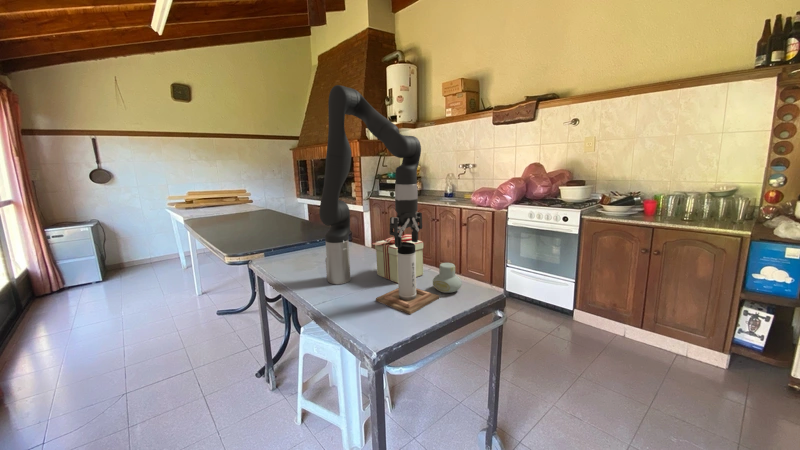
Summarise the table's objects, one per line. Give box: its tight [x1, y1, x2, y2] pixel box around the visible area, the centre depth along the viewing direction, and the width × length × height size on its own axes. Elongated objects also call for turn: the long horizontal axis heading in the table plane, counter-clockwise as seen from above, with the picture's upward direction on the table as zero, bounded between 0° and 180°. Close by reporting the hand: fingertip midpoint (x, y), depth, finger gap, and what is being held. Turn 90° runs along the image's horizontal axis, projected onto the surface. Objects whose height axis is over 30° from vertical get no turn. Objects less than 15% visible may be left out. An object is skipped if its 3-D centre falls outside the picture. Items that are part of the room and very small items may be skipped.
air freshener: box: [432, 262, 463, 294], centre depth 122 cm, size 11×8×10 cm
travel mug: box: [397, 242, 417, 300], centre depth 113 cm, size 6×7×20 cm
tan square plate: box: [375, 287, 440, 315], centre depth 115 cm, size 16×16×2 cm
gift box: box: [371, 233, 424, 284], centre depth 138 cm, size 17×18×17 cm
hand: (406, 244), depth 111 cm, fingers open, 8 cm apart
